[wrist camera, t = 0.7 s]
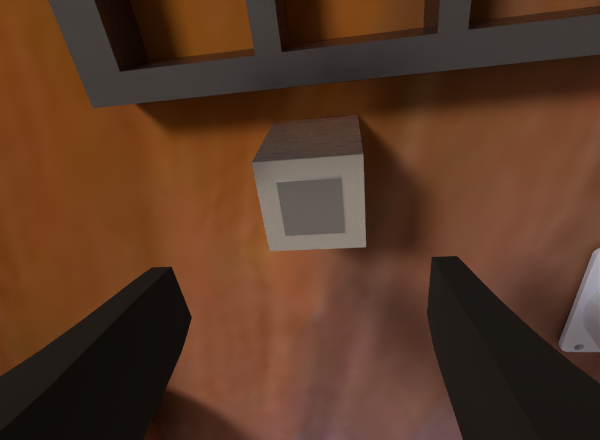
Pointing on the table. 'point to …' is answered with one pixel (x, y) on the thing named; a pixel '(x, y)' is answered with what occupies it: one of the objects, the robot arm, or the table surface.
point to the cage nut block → (312, 184)
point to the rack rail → (307, 50)
